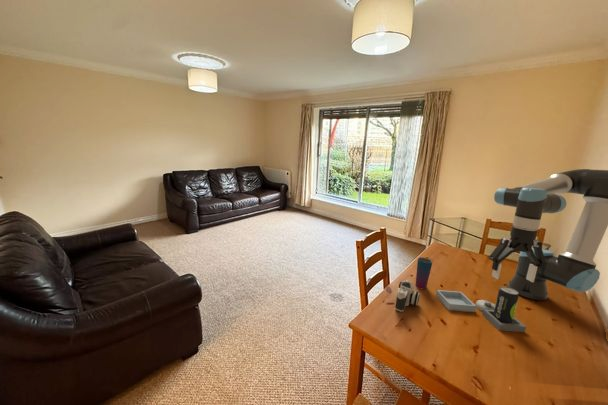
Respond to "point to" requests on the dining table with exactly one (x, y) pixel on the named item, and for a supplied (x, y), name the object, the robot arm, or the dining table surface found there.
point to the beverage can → (506, 305)
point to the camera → (406, 295)
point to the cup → (423, 272)
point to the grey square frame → (488, 314)
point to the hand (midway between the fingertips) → (512, 279)
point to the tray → (455, 301)
